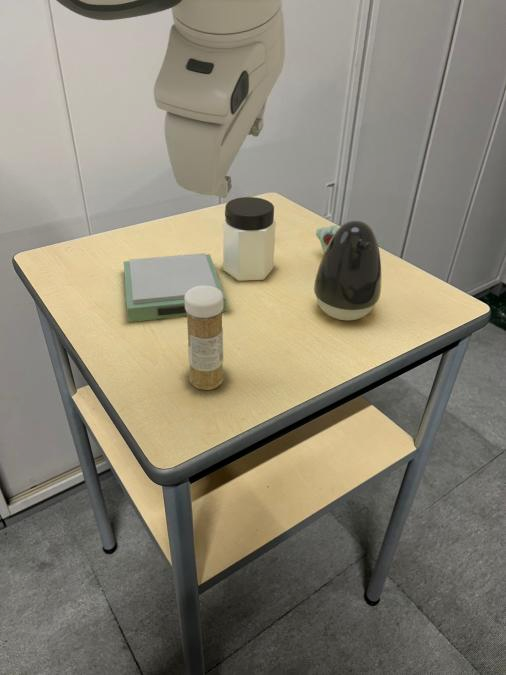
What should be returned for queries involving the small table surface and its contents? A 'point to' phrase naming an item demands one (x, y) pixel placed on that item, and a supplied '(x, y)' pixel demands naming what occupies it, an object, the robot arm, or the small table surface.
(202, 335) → the sprinkles bottle
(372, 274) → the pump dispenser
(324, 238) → the robot head
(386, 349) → the small table surface
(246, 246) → the jar
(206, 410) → the small table surface
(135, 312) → the kitchen scale
